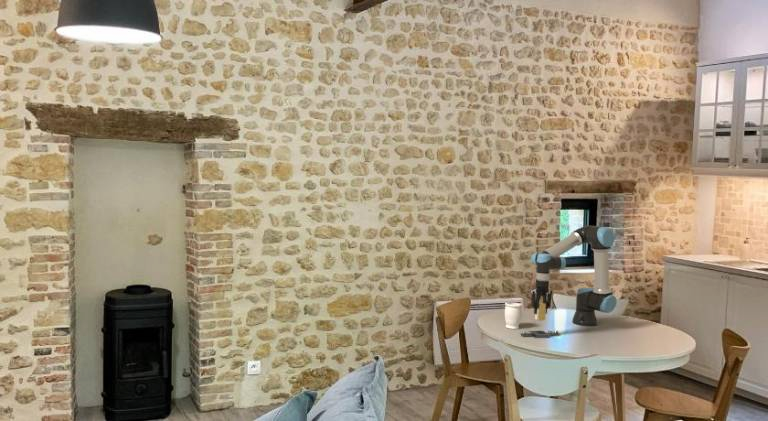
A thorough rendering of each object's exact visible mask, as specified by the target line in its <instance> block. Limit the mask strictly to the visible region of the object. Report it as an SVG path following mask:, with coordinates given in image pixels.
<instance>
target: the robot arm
mask: <svg viewBox="0 0 768 421" xmlns="http://www.w3.org/2000/svg"><path fill="white" fill-rule="evenodd" d="M615 238H616V237H615V233H614V232H613V230H611V228H608V227H605V226H597V225H592V224H591V225H585V226H580V227H579V228H577V229H575V230H573V231H572V232H570V234H569V235H568V236H567V237H565V238H563V239H562V240H560V241H558V242H557V243H555V244H554V245H552V246H550V247H548V248H546V249H544V251H542V252H535V253H534V252H533V254H532V255H531V258H530V260H531V263H532V265H534V266H536V275H535V279H536V280H535V288H534V289H533V290H530V293H531V294H530V295H531V296H530V297H531V298H530V300H531V301H530V302H531V303H530V305H531V308H533V314H534V319H535V320H536V321H539V320H538V314H539V309H538V305H539V302H540V301H541V298H542V302H543V303H545V304H546V308H545V318H546V316H547V315H546V314H548V309H549V308H551V306H552V305H551V304H552V297H553V296H552V295H553V293H554V291H553V290H550V289H549V287H550V286H549V285H550V272H551V270H563V269H564V268H566V266H567V261H566V258H565V257H563V256H562V255H564V254H566V252H569V251H570V250H572V249H573V248H575V247H577V246H578V247H579V246H581V245H584V244H585V245H587V244H589V245H590V249H591V250H592V251H593V264H594V266H593V267H594V268H593V269H594V287H580V288H578V289H577V291H576V299H575V300H576V303H575V305H576V306H575V312H574V315H573V317H572V323H573V324H576V325H578V326H586V327H594V326H597V324H598V320H597V316H596V313H595V311H597V312H601V313H604V314H605V313H606V314H610V313H611V312H613V311H614V309H615V308H616V306H617V297H616V296H615V295H613V290H612V288H610V269H609V268H610V267H609V266H610V265H609V264H610V263H609V261H610V260H609V250H611V247H612V246H613V245H614V243H615Z"/></svg>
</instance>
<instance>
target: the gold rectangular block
mask: <svg viewBox="0 0 768 421" xmlns="http://www.w3.org/2000/svg"><path fill="white" fill-rule="evenodd" d="M545 308H546V304H545V303H543V301H541V302H540V301H539V305H538V309H539V314H538V320H537V321H545V320H546V317H545Z"/></svg>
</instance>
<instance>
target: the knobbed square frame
mask: <svg viewBox="0 0 768 421" xmlns="http://www.w3.org/2000/svg"><path fill="white" fill-rule="evenodd" d="M520 335H521V336H520V337H522V336H523V337H522V338H535V339H549V338H551V337H560V332H559V331H558V330H548V331H547V332H546V331H545V330H528V331H521V333H520Z"/></svg>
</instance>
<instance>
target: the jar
mask: <svg viewBox="0 0 768 421" xmlns="http://www.w3.org/2000/svg"><path fill="white" fill-rule="evenodd" d="M504 305H505V307H504V320H505V328H507V329H511V330H517V329H520V323H521V320H522V314H523V313H522V307H523V304H522V303H521V302H515V301H507V302H505V303H504Z"/></svg>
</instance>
